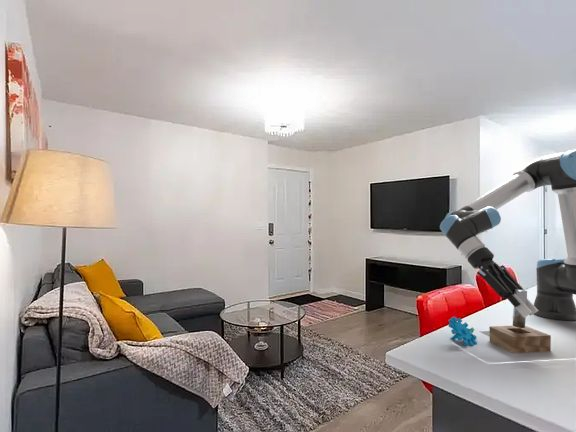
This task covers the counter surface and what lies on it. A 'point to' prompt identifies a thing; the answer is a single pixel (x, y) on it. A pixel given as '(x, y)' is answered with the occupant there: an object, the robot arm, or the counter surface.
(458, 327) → the gear
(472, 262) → the robot arm
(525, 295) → the peg
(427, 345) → the counter surface
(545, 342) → the hole block
